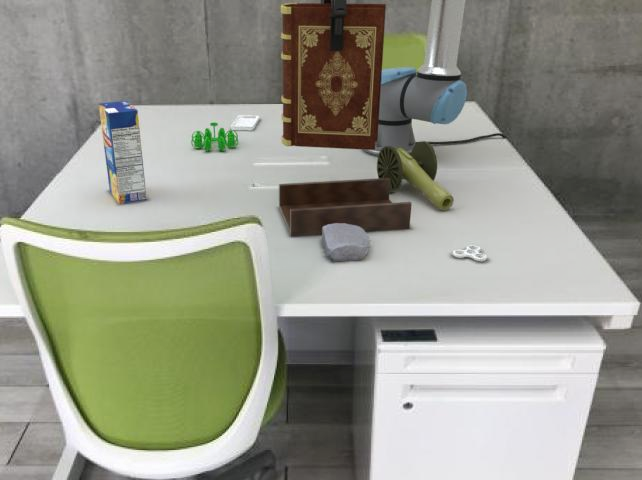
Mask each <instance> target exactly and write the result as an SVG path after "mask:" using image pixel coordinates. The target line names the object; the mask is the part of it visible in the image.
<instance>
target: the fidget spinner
mask: <svg viewBox="0 0 642 480" xmlns="http://www.w3.org/2000/svg"><path fill="white" fill-rule="evenodd" d="M451 254H452V256H453V257H455V258H460V259H461V258H471V259H473V260H474V261H477V262H484V261H485V262H486V261H487V260H488V256H487V255H486V254H484V253H482V252H481V247H480V246H478V245H475V244H470V245H467V246H466V248H465V249H455V250H453V251H452V253H451Z"/></svg>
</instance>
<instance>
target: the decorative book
mask: <svg viewBox="0 0 642 480" xmlns="http://www.w3.org/2000/svg"><path fill="white" fill-rule="evenodd" d="M386 7H387V4H386V3H346V11H347V14H346V16H344V26H343V51H330V19H331V18H329V15H330V14H332V7H331V4H328V3H320V2H319V3H318V2H317V3H315V2H313V3H312V2H309V3H308V2H303V3H300V2H286V3H283V4H281V5H280V13H281V14H282V31H281V33H280V38H281V39H282V51H281V53H280V58H281V59H282V95H281V96H280V97H281V99H280V102H282V114H281V115H280V116H281V117H280V118H281V121H282V135H281V144H282V145H283V146H285V147H301V148H303V147H304V148H321V149H322V148H323V149H325V148H326V149H343V150H363V151H364V150H375V142H377V139H378V124H379V108H380V92H381V76H382V70H383V61H384V58H383V57H384V43H385V26H386V11H387V8H386Z"/></svg>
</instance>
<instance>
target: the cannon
mask: <svg viewBox="0 0 642 480" xmlns="http://www.w3.org/2000/svg"><path fill="white" fill-rule="evenodd" d="M417 142H418V143H416V144H415V146H414V147H413V149H412V152H411V155H409V154H408V153H407V152H406V151H405V150H404V149H403V148H398V150H396V149H395V148H394V147H392V146H385V147H383V148H382V149H381V151H380V152H379V155H378V156H377V160H376V173H377V178H390V179H391V180H390V193H395V192H397V190H399V188H400V186H401V184H402V182H403V180H404V181H405V182H407V183H408V184H410V185H411V186H413V187H414V188H415V189H416V190H418V191H420V192H421V194H423V195H424V197H425V198H426V199H427V200H428V201H429V202H430V203H432V204H433V205H434V206H435V207H436V208H437V209H438V210H440V211H447V210H448V209H450V208H451V207H452V206H453V204H454V201H455V199H454V197H453V195H452V194H451V193H450V192H449V191H448V190H447V189H446V188H444V187H443V186H442V185H440V183H438V182H437V181H435V179H436V176H437V173H438V159H437V154H436V151H435V149H434V147H433V146H432V144H430V143H428V142H429V141H426V140H422V141H417Z"/></svg>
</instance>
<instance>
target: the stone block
mask: <svg viewBox="0 0 642 480" xmlns="http://www.w3.org/2000/svg"><path fill="white" fill-rule="evenodd" d="M321 241H322V244H323V247H324V251H325V254H326V257H327V259H329V260H330V261H331V262H337V261H339V262H344V261H359V260H362V259H364V257H365V256H366V255H367V254H368V253H369V251H370V249H371V238H370V237H369V236H368V233H367V232H365V231H364V230H363V229H362V228H361V227H359V226H356V225H350V224H345V223H343V224H342V223H340V224H339V223H334V224H328V225H326V226H324V227H322V235H321Z"/></svg>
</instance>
